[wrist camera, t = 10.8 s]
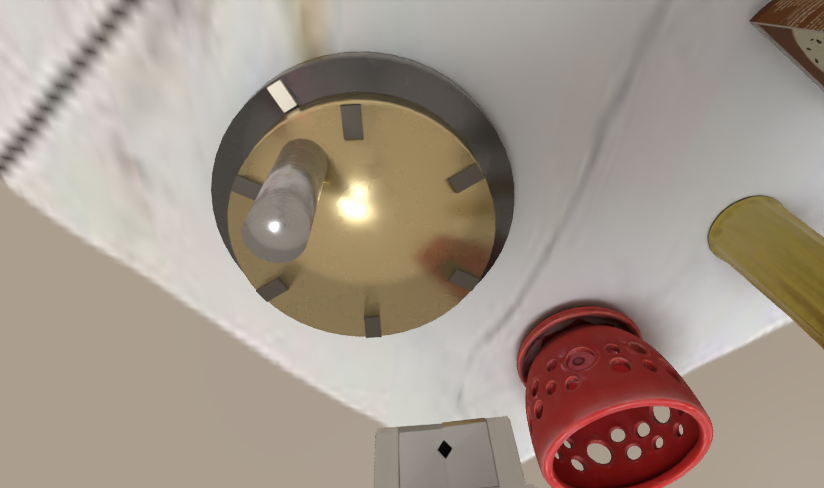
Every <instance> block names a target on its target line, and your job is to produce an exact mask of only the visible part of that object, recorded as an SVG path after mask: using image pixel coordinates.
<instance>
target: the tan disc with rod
mask: <svg viewBox="0 0 824 488" xmlns="http://www.w3.org/2000/svg"><path fill="white" fill-rule="evenodd" d="M228 231H229V236H230V241H231V245H232V248H233V251H234V254H235V257H236V259H237V261H238V263H239V265H240V267H241V269H242V271H243V273H244V274H245V276H246V277H247V278H248V280H249V281H250V283H251V284H252V285H253V286H254V288H255V289H256V292H257V293H258V294H259V295H260V296H261V297H262V298H263V299H264V300H266V301H267V302H270V303H271V304H272V305H273V306H274V307H276V308H277V309H279V310H280V311H282V312H283V313H284V314H286V315H288V316H290V317H291V318H293V319H295V320H297V321H299V322H301V323H303V324H306V325H308V326H311V327H313V328H316V329H319V330H323V331H326V332H330V333H335V334H340V335H348V336H359V337H360V336H366V338H371V337H382V336H383V335H391V334H395V333H400V332H405V331H408V330H411V329H414V328H417V327H420V326H422V325H424V324H427V323H429V322H431V321H433V320H435V319H436V318H438V317H440V316H442V315H443V314H445V313H446V312H448V311H449V310H450V309H452V308H453V307H454V306H456V305H457V304H458V303H459V302H460V301H461V300H462V299H463V298H464V297H465V296H466V295H467V294H468V293H469V292H470V291H472V290H473V289H474V287H475V286H476V284H477V283H478V282H479V280H480V277H481V275H482V274H483V272H484V270H485V268H486V265H487V263H488V261H489V259H490V255H491V252H492V248H493V244H494V237H495V211H494V205H493V199H492V196H491V193H490V190H489V187H488V184H487V182H486V179H485V177H484V174H483V172H482V170H481V167H480V165H479V163H478V161H477V159H476V157H475V155H474V153H473V152H472V150H471V149H470V147H469V146H468V144H467V143H466V141H465V140H464V139H463V138H462V137H461V136H460V135H459V133H458V132H457V131H456V130H455V129H454V128H453V127H452V126H451V125H449V124H448V123H447V122H446V121H444V120H443V119H442V118H441V117H440V116H438V115H436V114H435V113H433V112H431V111H430V110H428V109H426V108H425V107H423V106H420V105H418V104H416V103H414V102H411V101H409V100H406V99H403V98H399V97H396V96H392V95H388V94H381V93H375V92H347V93H338V94H333V95H329V96H325V97H321V98H317V99H315V100H312V101H310V102H307V103H305V104H302V105H300V106H298V107H297V108H295V109H293V110H292V111H290V112H288V113H286V114H285V115H284V116H283V117H281V118H280V119H279V120H277V121H276V122H275V123H274V124H273V125H272V126H271V127H270V128H269V129H268V130H267V131H266V132H265V133H264V134H263V135H262V136H261V138H260V139H259V141H258V142H257V144H256V145H255V147H254V148H253V150H252V151H251V153H250V154H249V156H248V157H247V159H246V160H245V162H244V163H243V165H242V166H241V168H240V170H239V172H238V173H237V175H236V177H235V180H234V183H233V185H232V188H231V194H230V197H229V205H228Z"/></svg>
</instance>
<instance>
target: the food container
mask: <svg viewBox="0 0 824 488" xmlns="http://www.w3.org/2000/svg"><path fill="white" fill-rule="evenodd" d="M749 22H751V23H752V24H753V25H754V26H755V27H756V28H757V29H758V30H759V31H760V32H761V33H762V34H763V35H764V36H765V37H767V38H768V39H769V40H770V41H771V42H772V43H773V44H774V45H775V46H776V47H777V48H778V49H779V50H780V51H781V52H783V53H784V54H785V55H786V56H787V57H788V58H789V59H790V60H791V61H792V62H793V63H794V64H795V65H796V66H797V67H798V68H800V69H801V70H802V71H803V72H804V73H805V74H806V75H807V76H808V77H809V78H810V79H811V80H812V81H813V82H814V83H816V84H817V85H818V86H819V87H820V88H821V89H822V90H823V91H824V0H772V1H771V2H770V3H768V4H767V5H766V6H765V7H764V8H762V9H761V10H760V11H759V12H758V13H757V14H756V15H755V16H754V17H753V18H752V19H751V20H750V21H749Z"/></svg>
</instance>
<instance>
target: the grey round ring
mask: <svg viewBox="0 0 824 488" xmlns="http://www.w3.org/2000/svg"><path fill="white" fill-rule="evenodd" d="M347 92H375V93H381V94H388V95H392V96H396V97H399V98H403V99H406V100H409V101H411V102H414V103H416V104H418V105H420V106H423V107H425V108H426V109H428V110H430V111H431V112H433V113H435V114H436V115H438V116H440V117H441V118H442V119H443V120H444V121H446V122H447V123H448V124H449V125H451V126H452V127H453V128H454V129H455V130H456V131H457V132H458V133H459V135H460V136H461V137H462V138H463V139H464V140H465V141H466V143H467V144H468V146H469V147H470V149H471V150H472V152H473V153H474V155H475V157H476V159H477V161H478V163H479V165H480V167H481V170H482V172H483V174H484V177H485V179H486V182H487V184H488V187H489V190H490V193H491V196H492V199H493V205H494V211H495V237H494V244H493V248H492V252H491V255H490V259H489V261H488V263H487V265H486V268H485V270H484V272H483V274H482V275H481V277H480V280H479V282H480V281H481V280H482V279H483V278H484V276H485V275H486V274H487V272H488V271H489V270H490V269H491V267H492V266H493V265H494V263H495V261H496V259H497V258H498V256H499V254H500V253H501V251H502V249H503V246H504V244H505V241H506V239H507V237H508V234H509V230H510V226H511V222H512V218H513V209H514V183H513V177H512V172H511V166H510V163H509V160H508V157H507V154H506V151H505V148H504V147H503V145H502V143H501V141H500V139H499V137H498V135H497V133H496V131H495V129H494V127H493V126H492V124H491V122H490V121H489V119H488V118H487V116H486V115H485V114H484V112H483V111H482V109H481V108H480V107H479V105H478V104H477V103H476V102H475V101H474V100H473V99H472V98H471V97H470V96H469V95H468V94H467V93H466V92H465V91H464V90H463V89H461V88H460V87H459V86H458V85H456V84H455V83H454V82H453V81H451V80H450V79H449V78H447V77H445V76H443V75H442V74H440V73H438V72H437V71H435V70H433V69H432V68H429V67H427V66H425V65H422V64H420V63H417V62H415V61H413V60H409V59H406V58H402V57H398V56H394V55H391V54H383V53H375V52H344V53H337V54H331V55H325V56H321V57H318V58H315V59H311V60H308V61H305V62H303V63H300V64H298V65H296V66H294V67H292V68H290V69H288V70H285V71H284V72H282V73H281V74H279V75H278V76H276V77H275V78H273V79H272V80H270V81H269V82H267V83H266V84H265V85H264V86H263V87H262V88H261V89H260V90H259V91H258V92H256V93H255V94H254V95H253V96H252V97H251V98H250V100H249V101H248V102H247V103H246V104H245V105H244V107H243V108H242V109H241V110H240V112H239V113H238V114H237V115H236V117H235V118H234V119H233V120H232V122H231V124H230V126H229V127H228V129H227V131H226V133H225V134H224V136H223V138H222V141H221V144H220V146H219V149H218V151H217V154H216V158H215V163H214V167H213V172H212V188H211V193H212V204H213V211H214V215H215V219H216V223H217V227H218V230H219V232H220V234H221V237H222V239H223V242H224V244H225V246H226V248H227V249H228V251H229V253H230V255H231V256H232V258H233V260H234V261H235V262H236V264H237V265H238V266H239V268H240V269H241V267H240V265H239V263H238V261H237V259H236V257H235V254H234V251H233V248H232V245H231V241H230V236H229V231H228V205H229V197H230V194H231V188H232V185H233V183H234V180H235V177H236V175H237V173H238V172H239V170H240V168H241V166H242V165H243V163H244V162H245V160H246V159H247V157H248V156H249V154H250V153H251V151H252V150H253V148H254V147H255V145H256V144H257V142H258V141H259V139H260V138H261V136H262V135H263V134H264V133H265V132H266V131H267V130H268V129H269V128H270V127H271V126H272V125H273V124H274V123H275V122H276V121H277V120H279V119H280V118H281V117H283V116H284V115H285V114H286V113H288V112H290V111H292V110H293V109H295V108H297V107H298V106H300V105H302V104H305V103H307V102H310V101H312V100H315V99H317V98H321V97H325V96H329V95H333V94H338V93H347ZM241 270H242V269H241ZM242 272H243V271H242ZM479 282H478V283H479ZM478 283H477V284H478ZM477 284H476V285H477Z"/></svg>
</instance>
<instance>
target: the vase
mask: <svg viewBox="0 0 824 488" xmlns="http://www.w3.org/2000/svg"><path fill="white" fill-rule="evenodd" d="M709 245H710V248H711V251H712V252H713V253H714V254H715V255H716V256H717V257H719V258H720V259H722V260H724V261H725V262H727V263H728V264H730V265H731V266H732V267H733V268H734V269H736V270H737V271H738V272H739V273H740V274H741V275H743V276H744V277H745V278H746V279H747V280H748V281H749V282H750V283H751V284H752V285H753V286H755V287H756V288H757V289H758V290H759V291H760V292H762V293H763V294H764V295H765V296H766V297H767V298H768V299H770V300H771V301H772V302H773V303H774V304H775V305H777V306H778V307H779V308H780V309H781V310H782V311H783V312H785V313H786V314H787V315H788V316H789V317H790V318H791V319H792V320H793V321H794V322H796V323H797V324H798V325H799V326H800V327H801V328H802V329H803V330H804V331H805V332H806V333H807V334H808V335H809V336H810V337H811V338H813V339H814V340H815V341H816V342H817V343H818V344H819V345H820V346H821V347H822V348H823V349H824V237H822V236H821V235H820V234H818V233H817V232H815V231H814V230H813V229H811V228H810V227H809V226H807V225H806V224H805V223H804V222H802V221H801V220H800V219H799V218H797V217H796V216H795V215H793V214H792V213H790V212H789V211H788V210H786V209H785V208H784V207H783V206H782V205H781V203H780V202H779V201H777V200H776V199H773V198H770V197H763V196H756V197H750V198H746V199H743V200H741V201H739V202H737V203H735V204H733V205H731V206H730V207H728V208H727V209H726V210H725V211H723V212H722V213H721V214H720V215H719V217H718V218H717V219H716V220H715V222H714V223H713V225H712V227H711V230H710V233H709Z"/></svg>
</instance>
